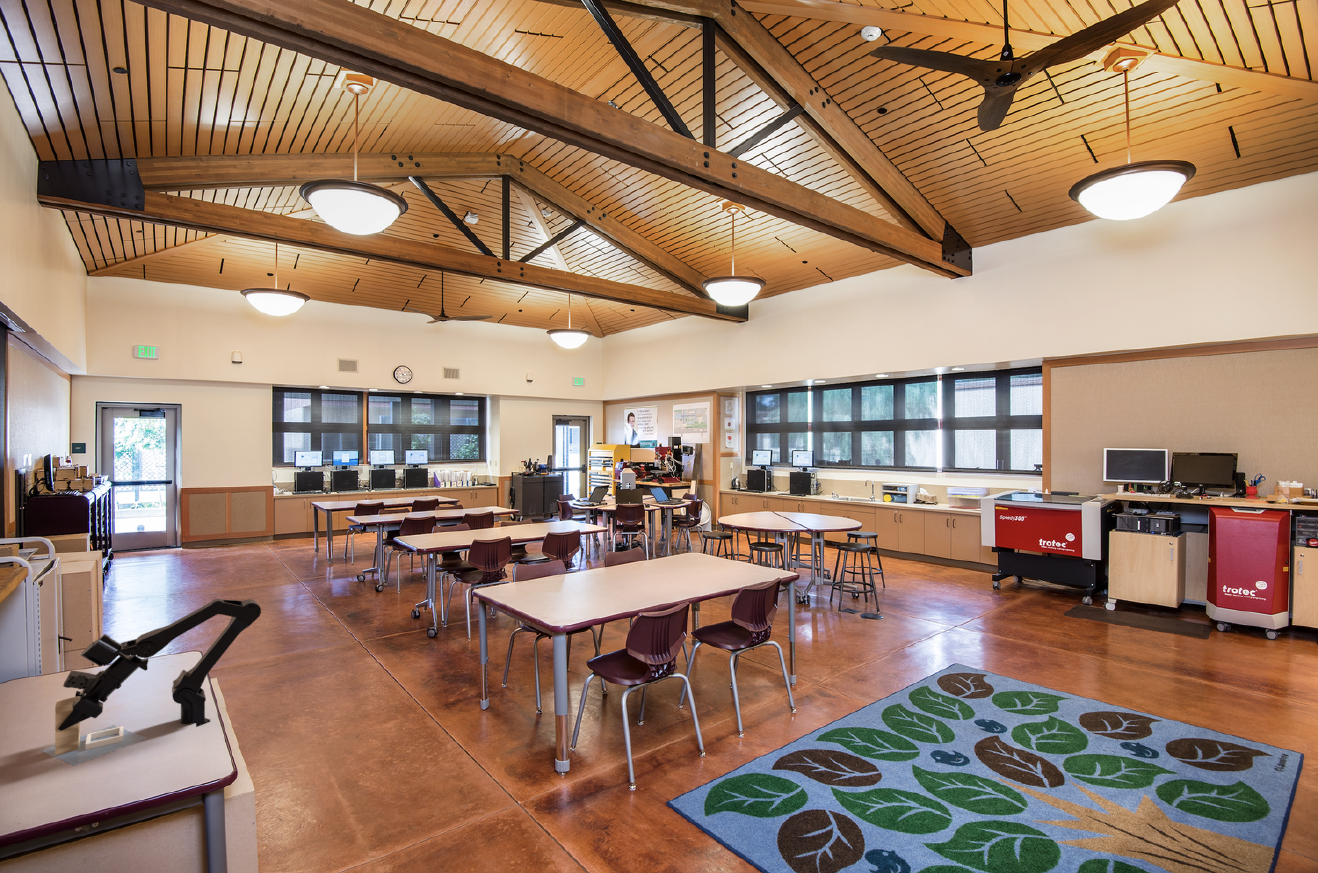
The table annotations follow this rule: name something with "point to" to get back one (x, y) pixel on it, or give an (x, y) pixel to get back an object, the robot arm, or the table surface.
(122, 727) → the socket frame
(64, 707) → the maple pillar
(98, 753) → the base board
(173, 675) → the table surface
